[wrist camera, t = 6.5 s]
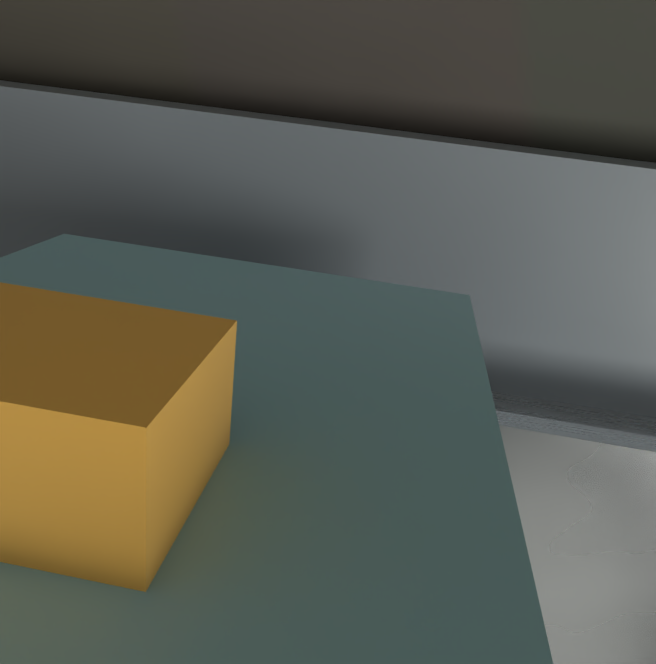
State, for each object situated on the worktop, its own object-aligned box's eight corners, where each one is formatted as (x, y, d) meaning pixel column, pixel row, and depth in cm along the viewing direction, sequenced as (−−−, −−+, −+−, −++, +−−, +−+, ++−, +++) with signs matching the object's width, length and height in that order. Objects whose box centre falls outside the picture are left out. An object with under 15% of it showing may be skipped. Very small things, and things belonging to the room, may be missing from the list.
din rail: (1113, 473, 8) (1263, 555, 7) (971, 675, 10) (1071, 781, 8) (-173, 265, 10) (-277, 294, 9) (-134, 462, 11) (-218, 516, 10)
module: (484, 227, 7) (735, 776, 1) (381, 713, 10) (325, 1531, 4) (61, 167, 7) (-1073, 383, 2) (83, 648, 10) (-326, 1304, 5)
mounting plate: (1171, 228, 8) (1319, 253, 7) (858, 727, 12) (914, 809, 11) (-155, 60, 10) (-245, 55, 9) (-77, 537, 14) (-131, 585, 13)
